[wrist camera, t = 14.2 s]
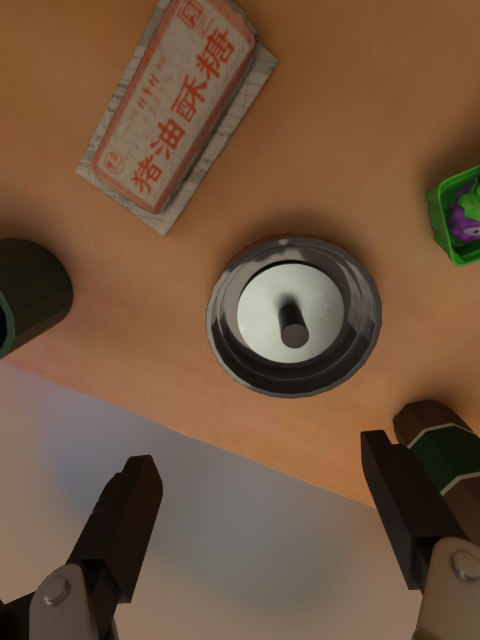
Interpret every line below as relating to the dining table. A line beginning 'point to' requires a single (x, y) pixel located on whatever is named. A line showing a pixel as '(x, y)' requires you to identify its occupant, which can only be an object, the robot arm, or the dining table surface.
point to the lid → (290, 312)
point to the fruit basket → (457, 216)
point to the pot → (30, 293)
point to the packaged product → (176, 107)
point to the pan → (321, 369)
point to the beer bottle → (446, 457)
